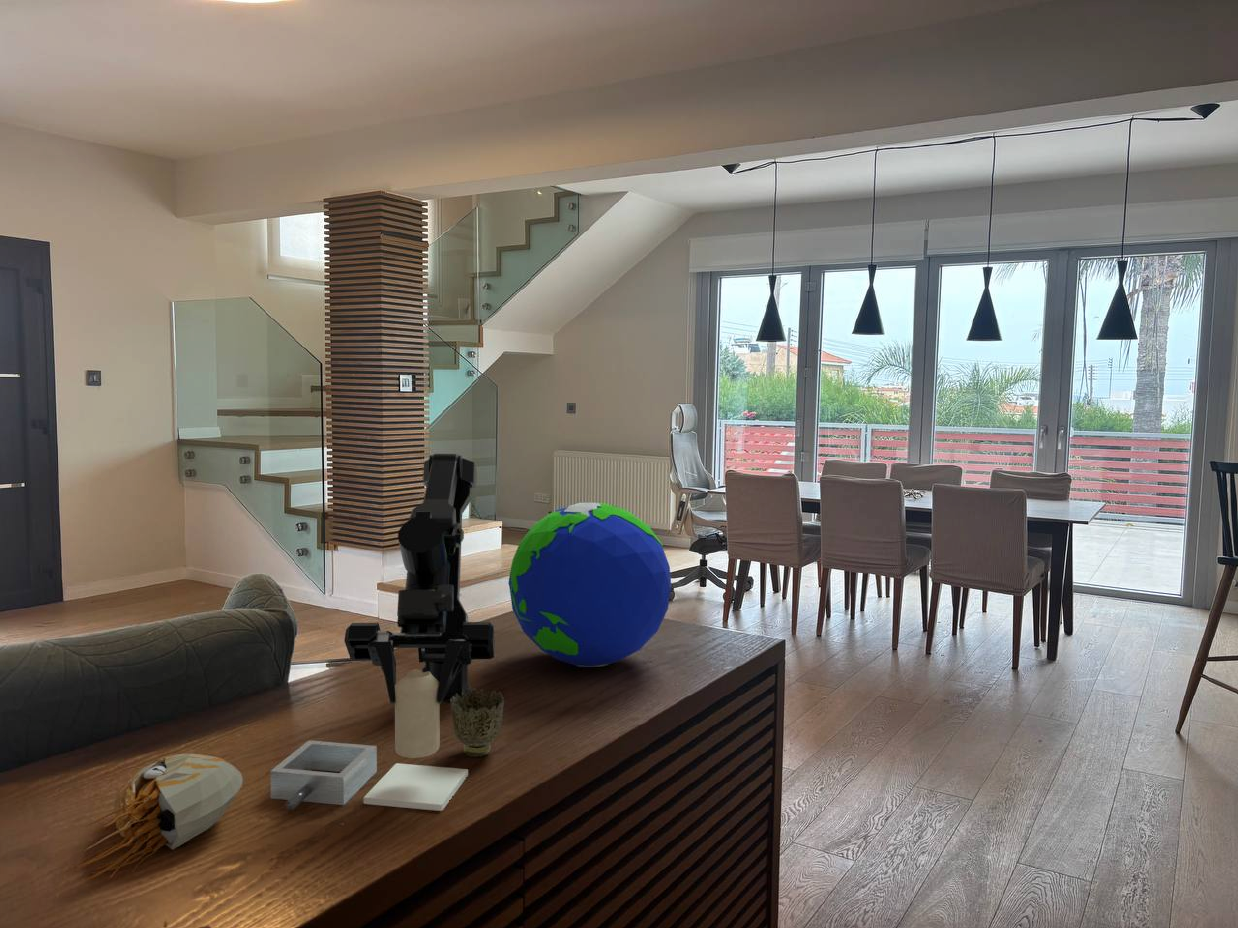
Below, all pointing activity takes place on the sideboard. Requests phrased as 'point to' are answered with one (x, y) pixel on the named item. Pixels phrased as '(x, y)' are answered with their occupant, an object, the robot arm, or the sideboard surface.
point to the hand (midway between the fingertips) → (415, 702)
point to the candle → (417, 715)
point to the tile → (416, 787)
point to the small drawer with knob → (323, 773)
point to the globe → (590, 584)
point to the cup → (477, 720)
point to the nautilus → (170, 803)
